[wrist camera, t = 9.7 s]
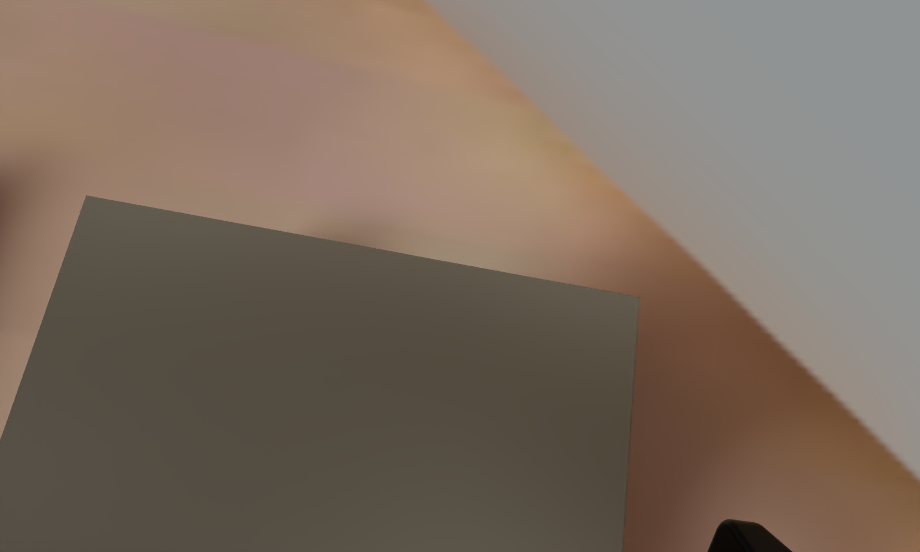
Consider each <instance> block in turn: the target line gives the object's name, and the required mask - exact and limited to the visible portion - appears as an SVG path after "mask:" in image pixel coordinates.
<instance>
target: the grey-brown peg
mask: <svg viewBox="0 0 920 552" xmlns="http://www.w3.org/2000/svg"><path fill="white" fill-rule="evenodd" d="M638 311H639V297H636V296H630V295H625V294H619V293H614V292H609V291H603V290H598V289H592V288H587V287H581V286H576V285H571V284H565V283H560V282H554V281H549V280H543V279H538V278H532V277H527V276H522V275H516V274H511V273H505V272H500V271H494V270H489V269H483V268H478V267H473V266H467V265H462V264H456V263H451V262H445V261H440V260H434V259H429V258H424V257H418V256H413V255H407V254H402V253H396V252H391V251H386V250H380V249H375V248H369V247H364V246H358V245H353V244H347V243H342V242H337V241H331V240H326V239H320V238H315V237H309V236H304V235H298V234H293V233H288V232H282V231H277V230H271V229H266V228H260V227H255V226H249V225H244V224H239V223H233V222H228V221H222V220H217V219H211V218H206V217H200V216H195V215H190V214H184V213H179V212H173V211H168V210H162V209H157V208H152V207H146V206H141V205H135V204H130V203H124V202H119V201H113V200H108V199H103V198H97V197H92V196H86V198H85V200H84V203H83V206H82V209H81V212H80V215H79V218H78V220H77V223H76V226H75V229H74V232H73V235H72V237H71V240H70V243H69V246H68V249H67V252H66V255H65V257H64V260H63V263H62V266H61V269H60V272H59V274H58V277H57V280H56V283H55V286H54V289H53V292H52V294H51V297H50V300H49V303H48V306H47V309H46V311H45V314H44V317H43V320H42V323H41V326H40V329H39V331H38V334H37V337H36V340H35V343H34V346H33V348H32V351H31V354H30V357H29V360H28V363H27V366H26V368H25V371H24V374H23V377H22V380H21V383H20V385H19V388H18V391H17V394H16V397H15V400H14V403H13V405H12V408H11V411H10V414H9V417H8V420H7V422H6V425H5V428H4V431H3V434H2V437H1V440H0V552H622V551H623V536H624V521H625V506H626V491H627V476H628V461H629V446H630V431H631V416H632V401H633V386H634V371H635V356H636V341H637V326H638Z"/></svg>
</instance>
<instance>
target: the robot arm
mask: <svg viewBox="0 0 920 552" xmlns="http://www.w3.org/2000/svg"><path fill="white" fill-rule="evenodd" d="M708 552H792V551H791V550H790V549H788V548H787V547H786V546H785V545H784V544H783V543H782V542H780V541H779V540H778V539H777V538H776V537H775V536H773V535H772V534H771V533H770V532H769V531H768V530H766V529H765V528H764V527H763V526H761V525H760V524H758V523H754V522H747V521H740V520H732V519H727V520H724V521H723V522H721V523H720V525H719V526H718V528H717V530H716V532H715V535H714V537H713V540H712V542H711V545H710V547H709V549H708Z"/></svg>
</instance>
